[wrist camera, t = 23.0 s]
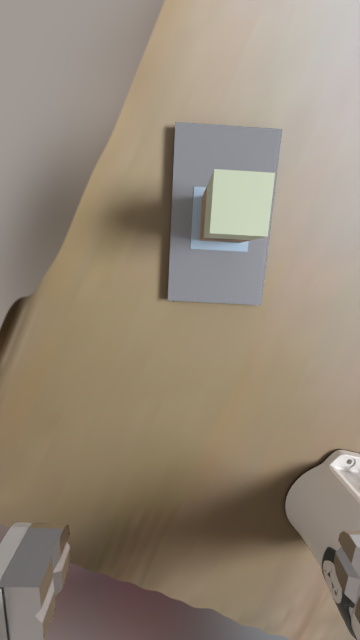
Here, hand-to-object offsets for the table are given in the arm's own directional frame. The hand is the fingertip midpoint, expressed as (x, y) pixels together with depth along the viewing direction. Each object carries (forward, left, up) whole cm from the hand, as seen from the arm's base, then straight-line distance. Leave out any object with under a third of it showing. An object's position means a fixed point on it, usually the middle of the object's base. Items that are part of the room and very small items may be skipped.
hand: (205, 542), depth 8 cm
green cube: (-4, -13, -23) cm, 27 cm away
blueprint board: (-4, -13, -29) cm, 32 cm away
